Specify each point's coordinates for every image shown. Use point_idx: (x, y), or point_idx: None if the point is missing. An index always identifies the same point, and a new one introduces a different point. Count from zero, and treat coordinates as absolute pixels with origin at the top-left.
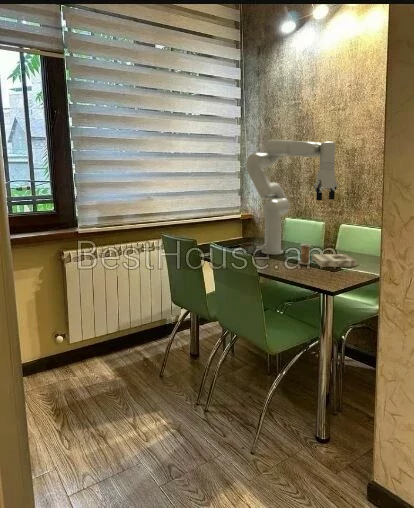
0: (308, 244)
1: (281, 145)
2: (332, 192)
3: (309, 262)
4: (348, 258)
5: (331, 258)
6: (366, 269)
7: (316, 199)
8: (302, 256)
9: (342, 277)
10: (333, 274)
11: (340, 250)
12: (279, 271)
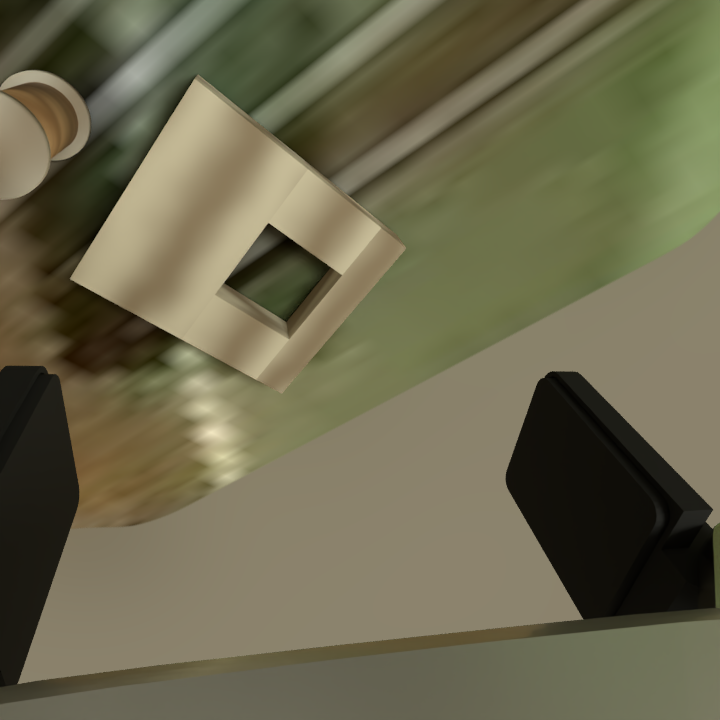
0: (24, 158)
1: None
2: (605, 595)
3: (66, 155)
4: (299, 334)
5: (206, 271)
6: (274, 426)
7: (4, 372)
8: None
9: None
10: None
11: (692, 2)
12: None
